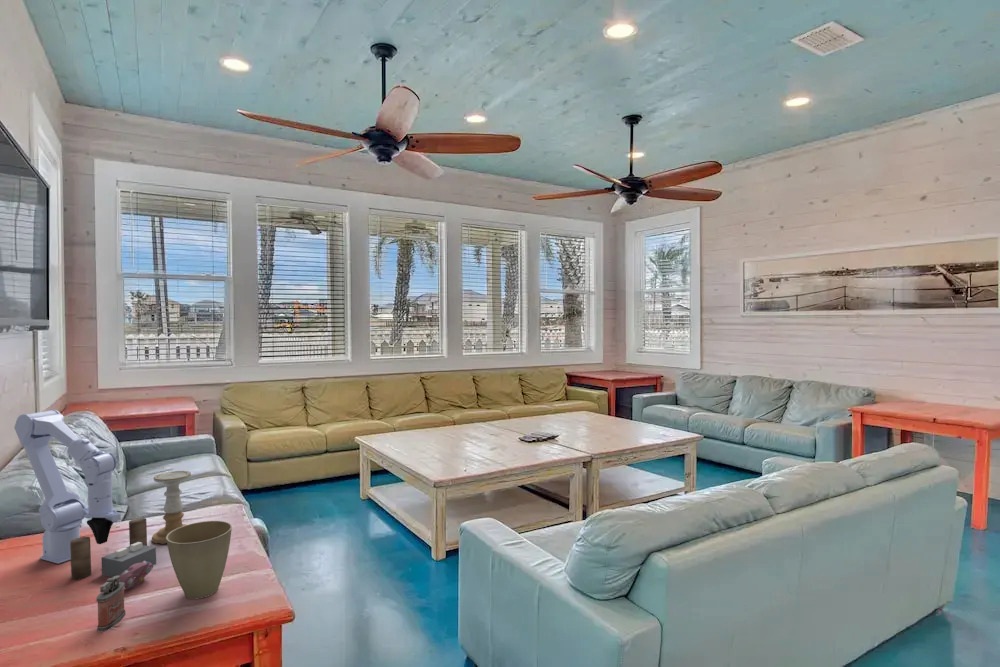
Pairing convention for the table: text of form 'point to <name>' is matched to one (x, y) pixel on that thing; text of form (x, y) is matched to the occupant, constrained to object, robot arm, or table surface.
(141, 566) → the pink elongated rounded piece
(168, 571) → the table surface
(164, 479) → the candle holder
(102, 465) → the robot arm
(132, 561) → the block
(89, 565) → the walnut post
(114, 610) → the lighter
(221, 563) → the plant pot
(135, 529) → the walnut post
